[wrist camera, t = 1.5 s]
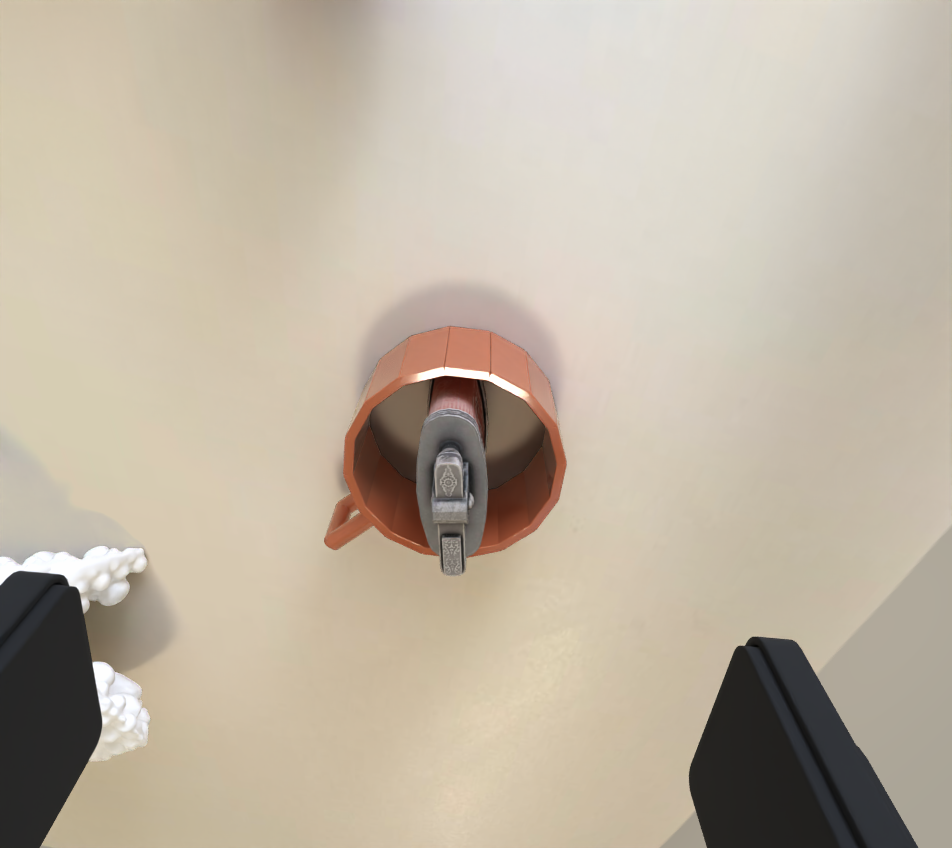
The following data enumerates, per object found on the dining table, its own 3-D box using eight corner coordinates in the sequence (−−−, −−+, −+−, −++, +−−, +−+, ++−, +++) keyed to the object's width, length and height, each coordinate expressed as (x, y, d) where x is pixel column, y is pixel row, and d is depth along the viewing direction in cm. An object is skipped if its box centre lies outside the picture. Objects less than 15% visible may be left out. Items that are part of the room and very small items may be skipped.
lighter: (424, 353, 38) (404, 443, 29) (486, 352, 37) (486, 442, 29) (432, 480, 41) (417, 593, 32) (489, 479, 41) (489, 593, 32)
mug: (475, 286, 36) (473, 322, 31) (592, 435, 40) (607, 487, 35) (277, 435, 40) (248, 487, 35) (401, 557, 44) (390, 618, 39)
